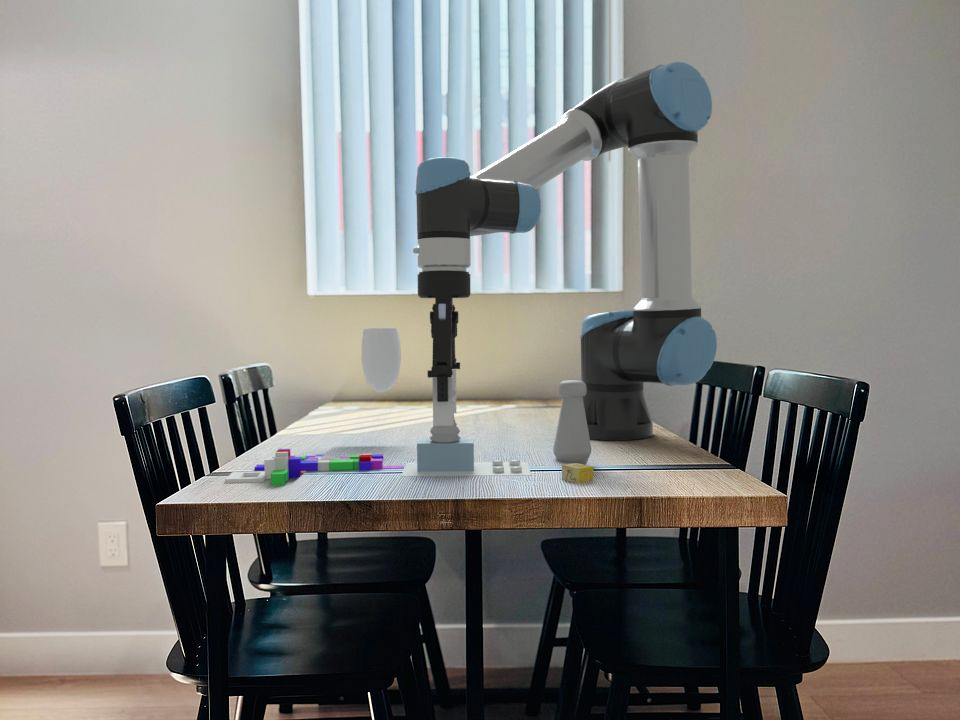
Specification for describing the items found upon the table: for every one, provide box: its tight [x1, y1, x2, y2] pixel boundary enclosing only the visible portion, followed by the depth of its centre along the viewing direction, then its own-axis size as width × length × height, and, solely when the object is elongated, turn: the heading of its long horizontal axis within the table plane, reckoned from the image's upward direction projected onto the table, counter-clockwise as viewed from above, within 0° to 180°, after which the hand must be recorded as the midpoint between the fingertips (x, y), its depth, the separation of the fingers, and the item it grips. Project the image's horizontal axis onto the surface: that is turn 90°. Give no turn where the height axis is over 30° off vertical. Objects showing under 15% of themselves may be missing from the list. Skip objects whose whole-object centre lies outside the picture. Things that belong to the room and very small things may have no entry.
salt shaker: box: [552, 379, 592, 465], centre depth 122 cm, size 6×6×13 cm
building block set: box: [224, 448, 405, 487], centre depth 121 cm, size 25×20×4 cm
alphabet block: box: [561, 462, 594, 484], centre depth 108 cm, size 3×3×3 cm
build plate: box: [400, 459, 532, 477], centre depth 116 cm, size 18×10×2 cm, turn 90°
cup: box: [361, 327, 402, 394], centre depth 146 cm, size 7×7×21 cm
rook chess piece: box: [429, 389, 461, 443], centre depth 115 cm, size 4×4×8 cm
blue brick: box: [416, 438, 475, 472], centre depth 115 cm, size 8×4×4 cm, turn 90°
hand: (445, 419), depth 115 cm, fingers open, 13 cm apart
